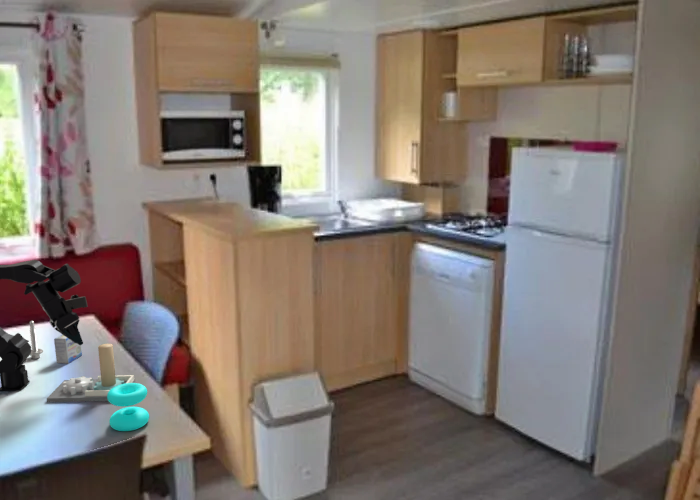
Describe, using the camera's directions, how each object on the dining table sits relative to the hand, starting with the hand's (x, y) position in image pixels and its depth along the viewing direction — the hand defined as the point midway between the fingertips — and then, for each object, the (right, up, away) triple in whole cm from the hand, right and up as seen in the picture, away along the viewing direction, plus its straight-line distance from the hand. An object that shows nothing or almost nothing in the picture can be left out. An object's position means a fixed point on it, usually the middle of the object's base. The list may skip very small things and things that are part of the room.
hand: (79, 343), depth 197 cm
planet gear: (+10, -13, -3) cm, 16 cm away
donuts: (+23, -18, -23) cm, 37 cm away
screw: (-25, -8, +25) cm, 36 cm away
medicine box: (-13, -9, +23) cm, 28 cm away
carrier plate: (+5, -14, -3) cm, 15 cm away
